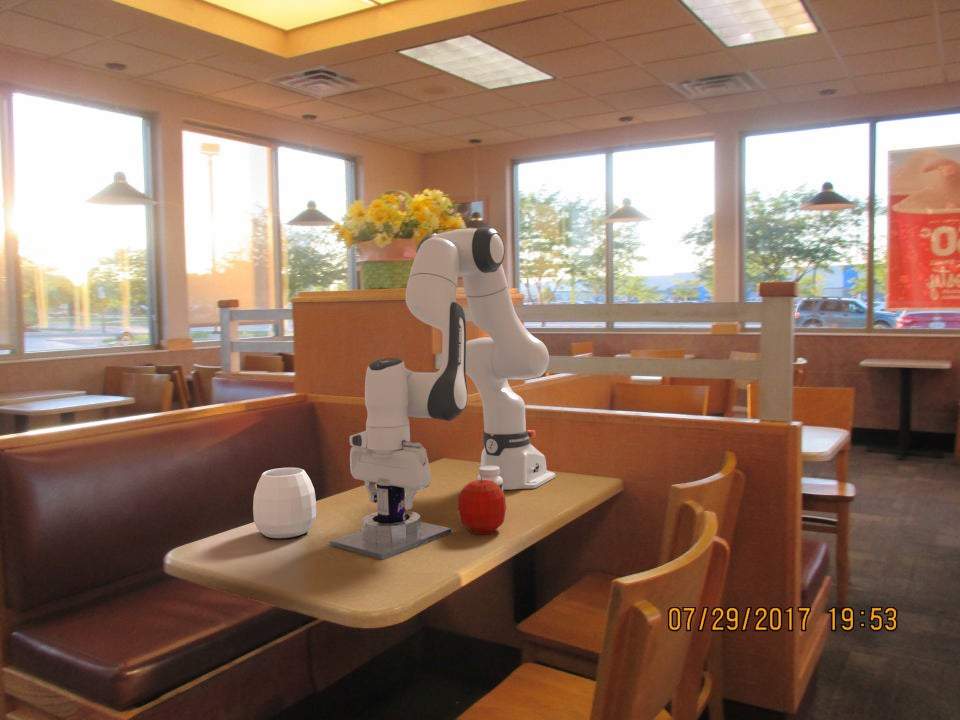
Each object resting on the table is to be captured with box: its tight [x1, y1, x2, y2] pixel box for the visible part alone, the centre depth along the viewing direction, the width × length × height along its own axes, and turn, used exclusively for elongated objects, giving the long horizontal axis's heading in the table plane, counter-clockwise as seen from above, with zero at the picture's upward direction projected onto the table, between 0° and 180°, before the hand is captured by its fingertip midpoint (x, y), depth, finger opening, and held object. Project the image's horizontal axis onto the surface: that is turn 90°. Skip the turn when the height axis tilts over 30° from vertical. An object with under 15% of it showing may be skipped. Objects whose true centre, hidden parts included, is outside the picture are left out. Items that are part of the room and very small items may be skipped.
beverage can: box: [376, 478, 406, 523], centre depth 155 cm, size 6×6×12 cm
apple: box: [457, 478, 507, 535], centre depth 159 cm, size 10×10×12 cm
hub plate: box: [329, 508, 452, 561], centre depth 155 cm, size 20×15×5 cm
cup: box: [252, 467, 317, 539], centre depth 161 cm, size 13×13×14 cm
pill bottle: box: [475, 466, 504, 492], centre depth 171 cm, size 6×6×11 cm
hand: (390, 505), depth 155 cm, fingers open, 8 cm apart
